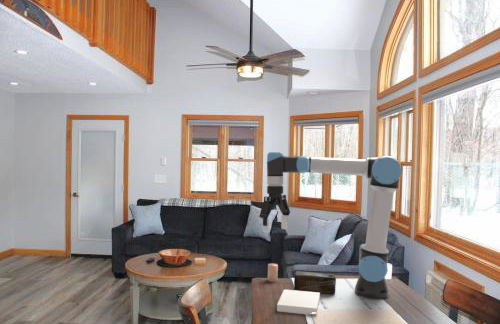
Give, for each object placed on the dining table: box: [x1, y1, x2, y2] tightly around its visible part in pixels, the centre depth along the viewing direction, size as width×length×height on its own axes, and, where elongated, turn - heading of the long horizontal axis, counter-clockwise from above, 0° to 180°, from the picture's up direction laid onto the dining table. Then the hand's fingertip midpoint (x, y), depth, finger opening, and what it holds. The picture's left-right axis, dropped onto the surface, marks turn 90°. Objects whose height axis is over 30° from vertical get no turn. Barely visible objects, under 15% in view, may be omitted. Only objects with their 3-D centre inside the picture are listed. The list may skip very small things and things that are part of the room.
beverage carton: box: [293, 271, 337, 295], centre depth 194 cm, size 8×19×7 cm
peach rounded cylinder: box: [267, 263, 279, 283], centre depth 210 cm, size 5×5×8 cm
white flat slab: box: [276, 288, 321, 315], centre depth 175 cm, size 16×20×3 cm
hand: (275, 231), depth 192 cm, fingers open, 13 cm apart
